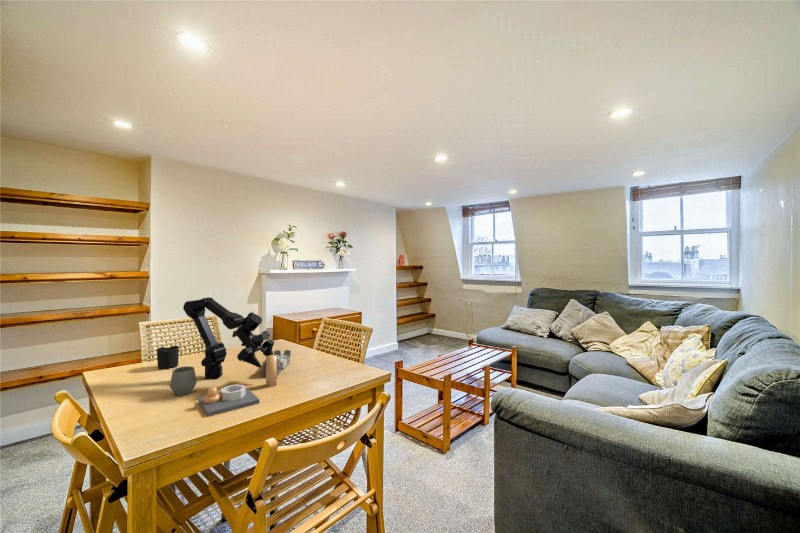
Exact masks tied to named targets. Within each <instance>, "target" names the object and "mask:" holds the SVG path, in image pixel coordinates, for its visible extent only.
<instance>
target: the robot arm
mask: <svg viewBox="0 0 800 533" xmlns="http://www.w3.org/2000/svg"><path fill="white" fill-rule="evenodd" d="M182 307H183V308H182V310H183V311H184V312H185V314H186V316H187V317H188V318H190V319H192V320H193V322H194V324H195V326H196V329H197V331H198V333H199V335H200V337H201V340H202V341H203V344H204V345H205V347H204V348H205V349H204V355H205V357H204V358H202V360H201V361H200V364H201V366H202V367H204V377H203V378H202V379H203V380H217V379H219V378H220V377H222V376H223V375H224V374H223V366H222V363H224V362H225V360H226V357H227V355H228V354H227V353H228V352H227V348H226V346H225V344H224V342H218V341H217V339H216V337H215V335H214V332H213V331H212V329H211V326H210V324H209V322H208V320H207V317H206V316H205V313H206V309H207V310H208V311H209V312H211V313H212V314H213V315H215V316H216V317H218V318H219V319H221V322H222V324H223V325H224V326H225V327H226V329H228V330H232V336H231V337H232V338H236V337H238V340H239V341H240V342H241V344H240V345H241V347H244V348H242V349H241V350H240V352H238V354H237V357H236V358H237V359H238V361H239V362H245V363H247V364H249V365H253V366H255V367H256V368H257V367H258V368H260V369H261V368H262V364H261V362H260V361H259V359H258V358H257V357H256V353H257V352H259V351H260V352H262V355H263V356H265V357H266V356H268V355H274V350H273V347H274V344H275V341H274V340H273V339H270V336H271V334H270V333H269V331H268V330H264V331H262V332H261V333H259V334H254V333H253V332H254V331H255V330H257V328H258V327H259V326H260V325H261V323H263V319H262V316H260V315H259V314H256V313H255V312H252V311H251V312H249V313H248V314H247V316H246V317H244V316H243V315H241V314H239V313H237V312H233V311H230V310H228V309H227V308H225V307H224V306H223V305H221V304H220V303H219V302H217V301H215V299H214V298H213V297H202V298H201V299H193V300H188V301H185V302H184V304H183V306H182ZM234 329H236V330H234Z"/></svg>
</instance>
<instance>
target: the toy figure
mask: <svg viewBox="0 0 800 533" xmlns="http://www.w3.org/2000/svg"><path fill="white" fill-rule="evenodd" d="M291 353H292V350H291V349H284V351H283V353H282V350H281V349H276V350H273V355H276V356H277V377H278V375H279V374H280V373H281V370H282V369H284V368H285V367H287V365H289V364H290V359H291V355H292V354H291ZM261 368H262V377H263V378H264V377H265V378H266V359H265V360H264V361H263V362H262V366H261Z"/></svg>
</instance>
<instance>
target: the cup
mask: <svg viewBox="0 0 800 533" xmlns="http://www.w3.org/2000/svg"><path fill="white" fill-rule="evenodd" d="M196 385H197V375H196V370H195V367H194V366H190V365H189V366H181V367H175V369H174V368H173V370H172V373H171V378H170V382H169V387H170V389H171V390H172V392H173V394H174V395H176V396H185V395H188V394H190V393H193V391H194V389H195V387H196Z"/></svg>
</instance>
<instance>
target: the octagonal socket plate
mask: <svg viewBox="0 0 800 533" xmlns="http://www.w3.org/2000/svg"><path fill="white" fill-rule="evenodd" d="M217 388H218V387H216V386H209V387H208V388H207V394H206V395H204V396H203V397H198V403H199V405H200V407H201V408H202V410H203V411H204V413H205V415H206V416H207V417H212V416H216V415H219V414H224V413H227V412H232V411H235V410H238V409H243V408H247V407H250V406H254V405H258V404H260V398H258V396H257V395H255V394H254V393H253V392H252V391H251V390H250V389H249V388H248V387H246V386H245V385H244V384H231V385H228V386H224V387H222V388H221V389H220V392H218V390H217Z"/></svg>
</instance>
